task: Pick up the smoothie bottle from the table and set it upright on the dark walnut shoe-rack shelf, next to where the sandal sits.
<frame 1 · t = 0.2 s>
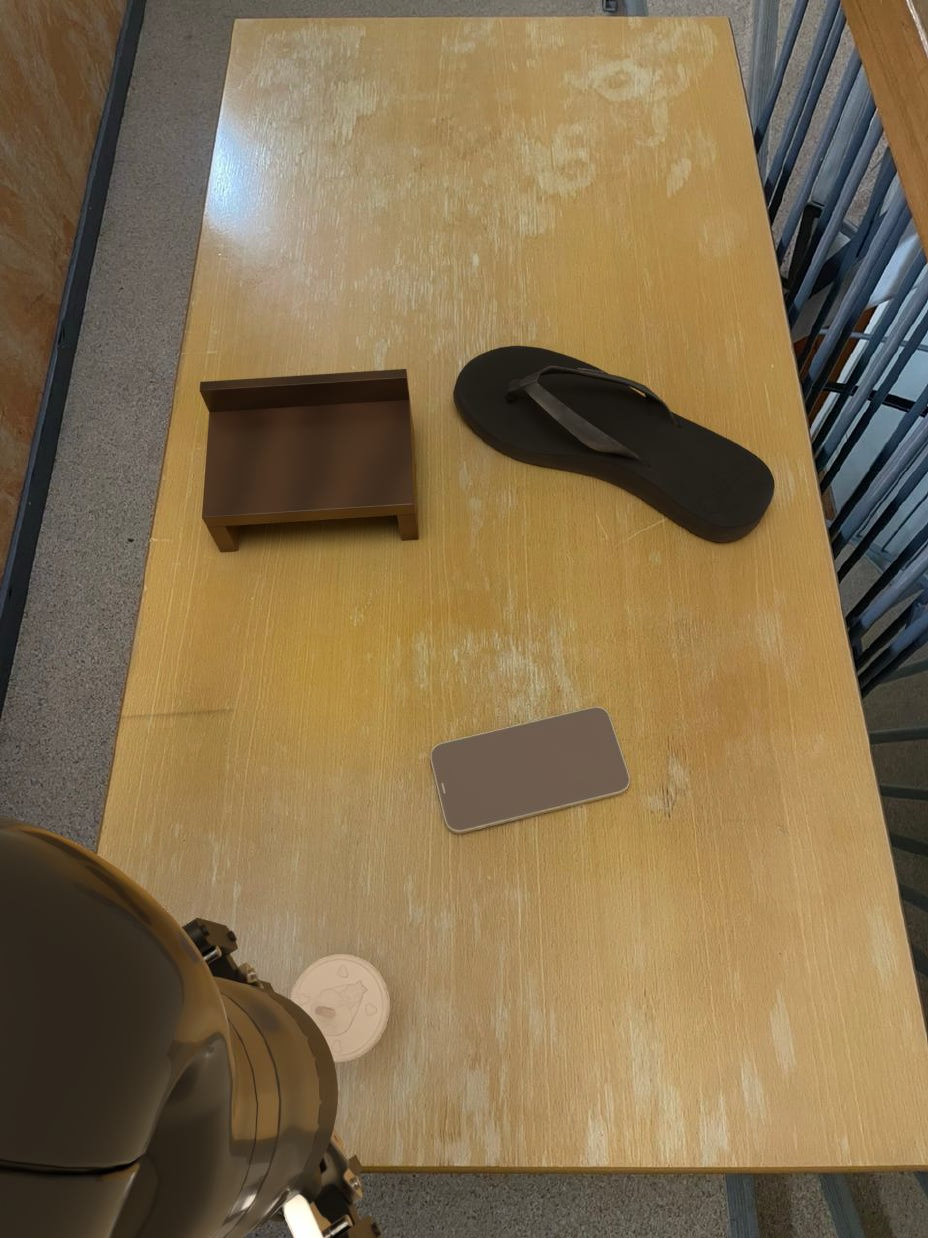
hand: (296, 1086, 43), 24 cm above the table, tool pointing down, fingers open, 8 cm apart
smoothie: (357, 1011, 67), on the table
shelf: (319, 489, 86), on the table
sandal: (605, 454, 87), on the table
smartphone: (528, 771, 74), on the table
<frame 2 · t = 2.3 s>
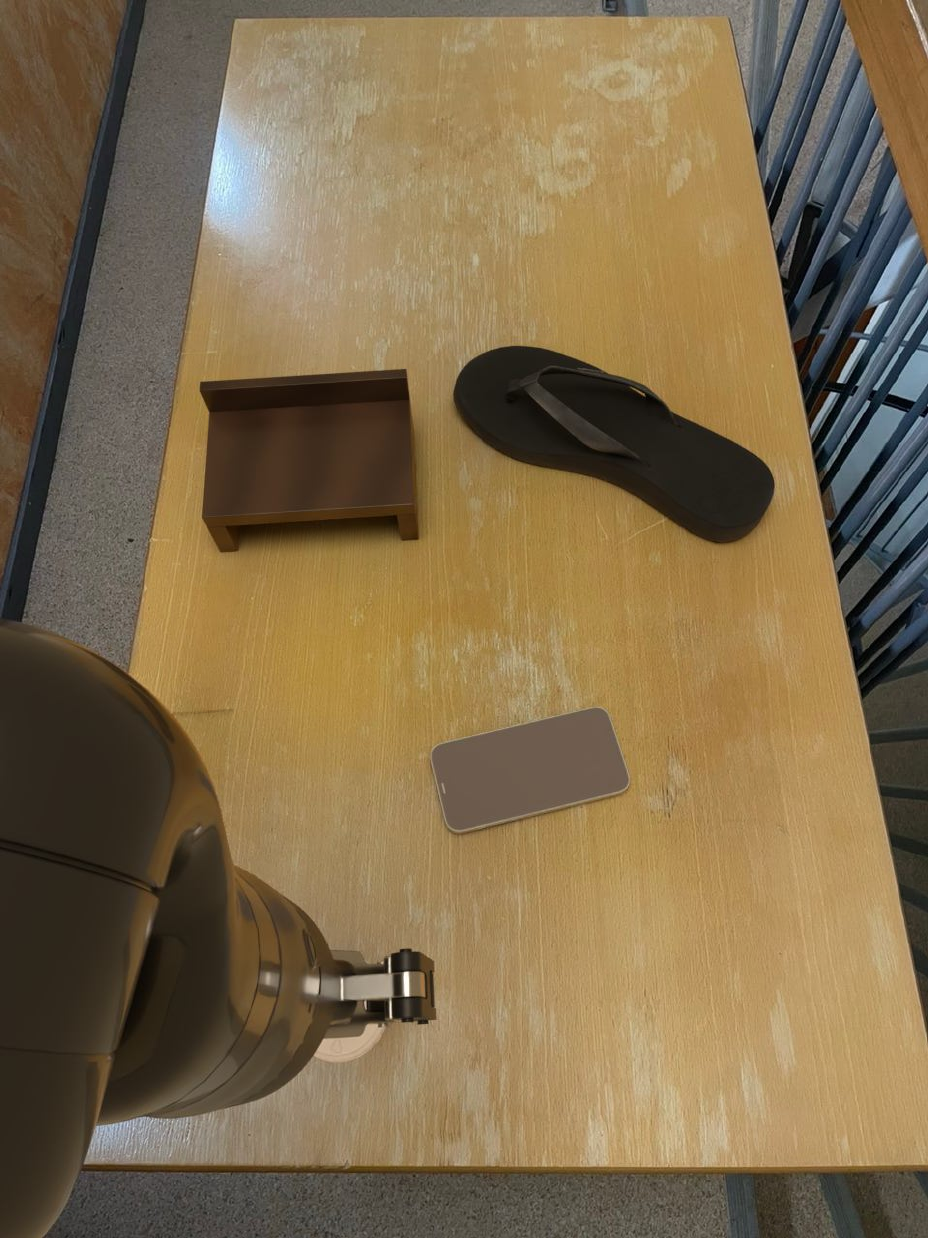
hand: (296, 1005, 45), 24 cm above the table, tool pointing down, fingers open, 8 cm apart
nothing on the table moved.
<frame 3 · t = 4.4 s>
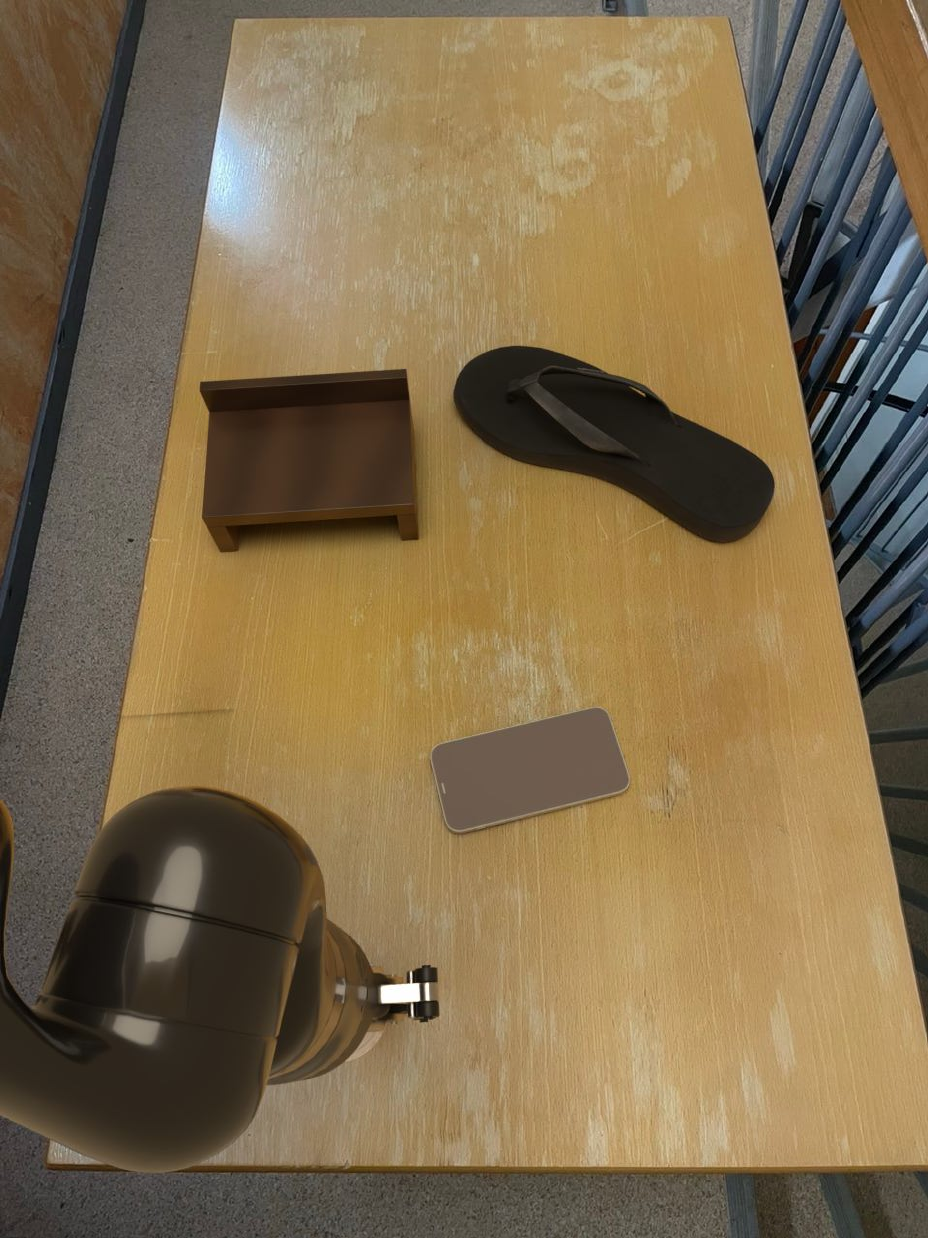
hand: (338, 1006, 58), 10 cm above the table, tool pointing down, fingers closed on smoothie, 6 cm apart
smoothie: (357, 1011, 67), on the table, touching gripper
everything else where it was.
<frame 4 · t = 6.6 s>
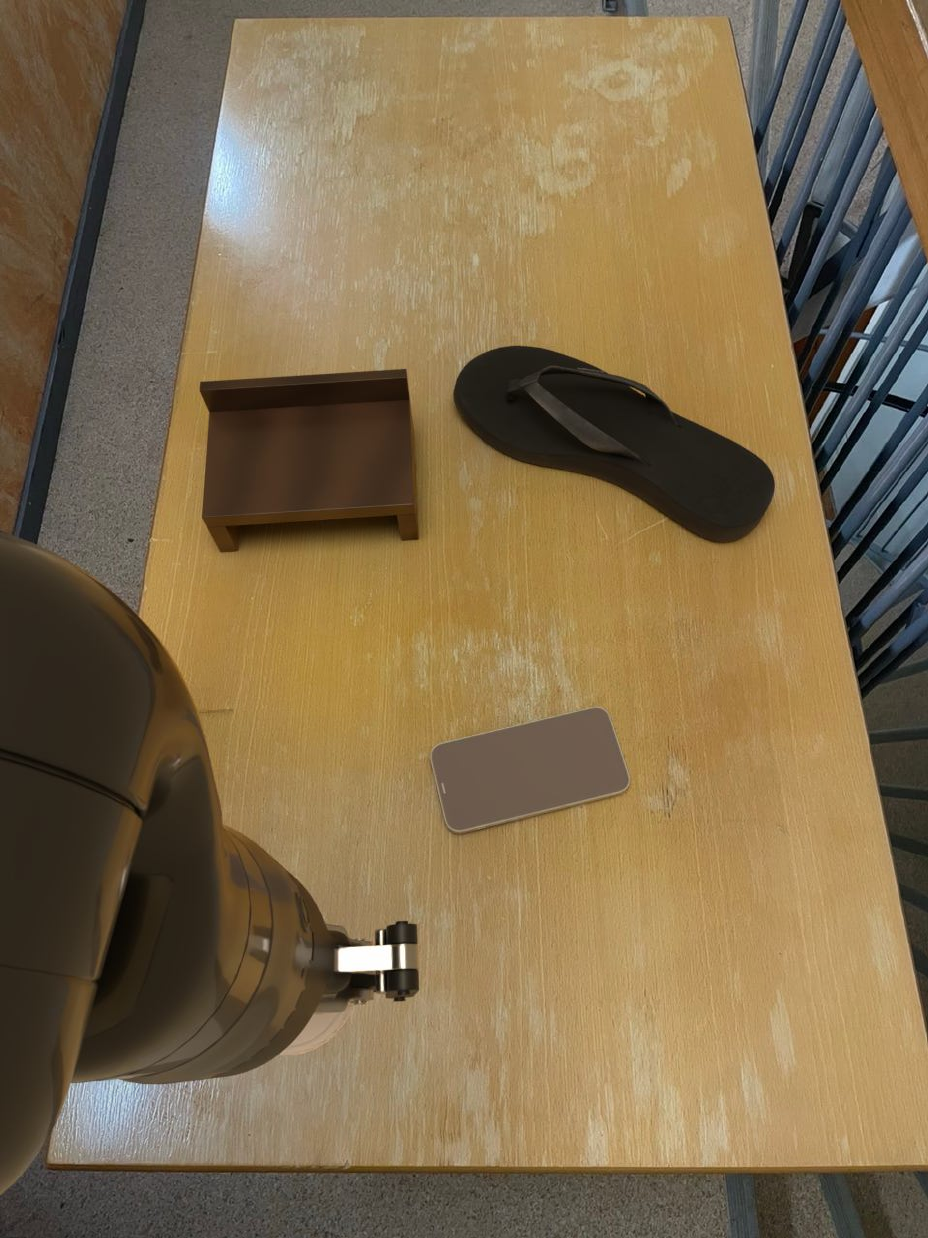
hand: (289, 982, 44), 25 cm above the table, tool pointing down, fingers closed on smoothie, 6 cm apart
smoothie: (321, 993, 53), point 15 cm above the table, touching gripper
everything else where it was.
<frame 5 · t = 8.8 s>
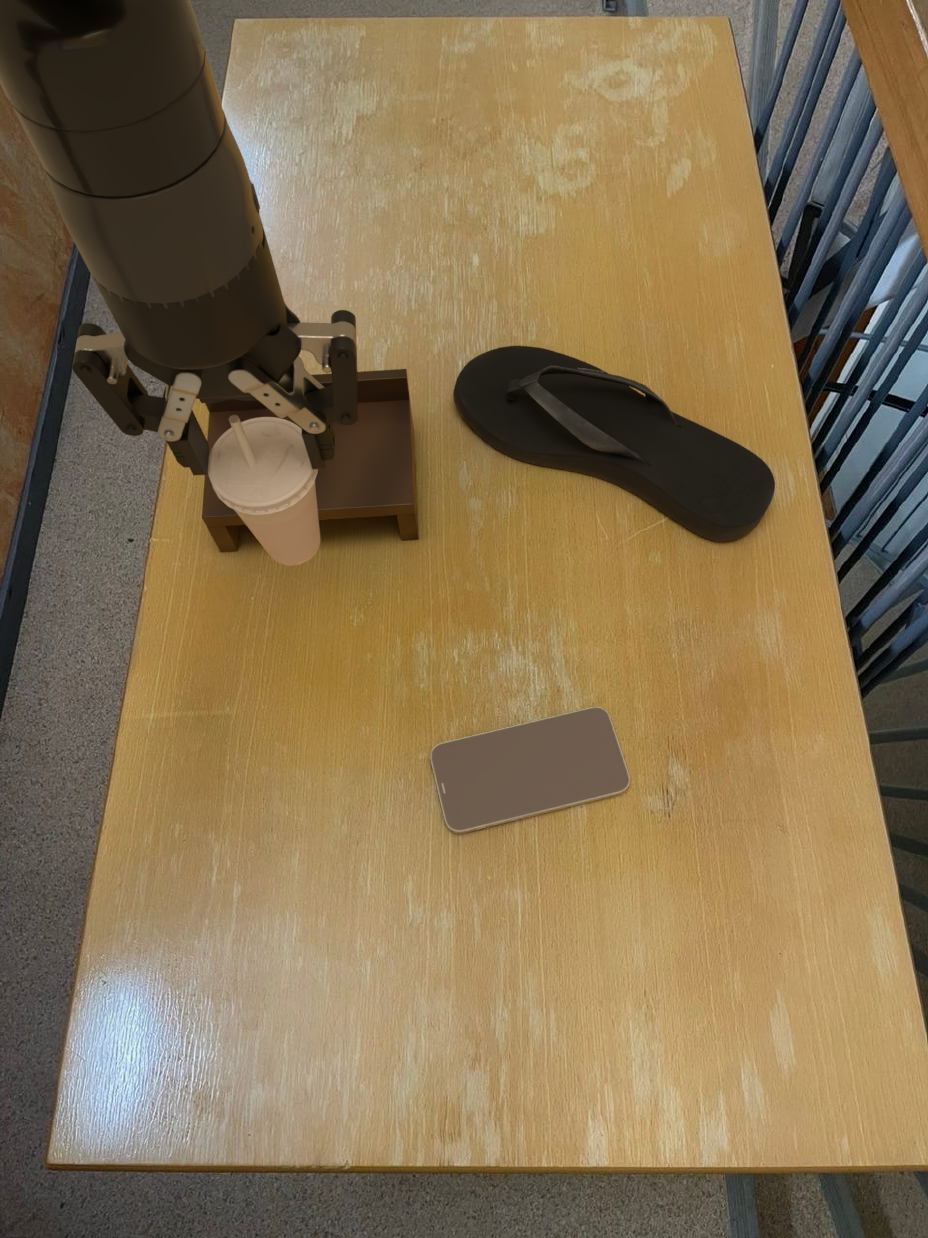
hand: (261, 459, 54), 28 cm above the table, tool pointing down, fingers closed on smoothie, 6 cm apart
smoothie: (294, 543, 63), point 18 cm above the table, touching gripper
everything else where it was.
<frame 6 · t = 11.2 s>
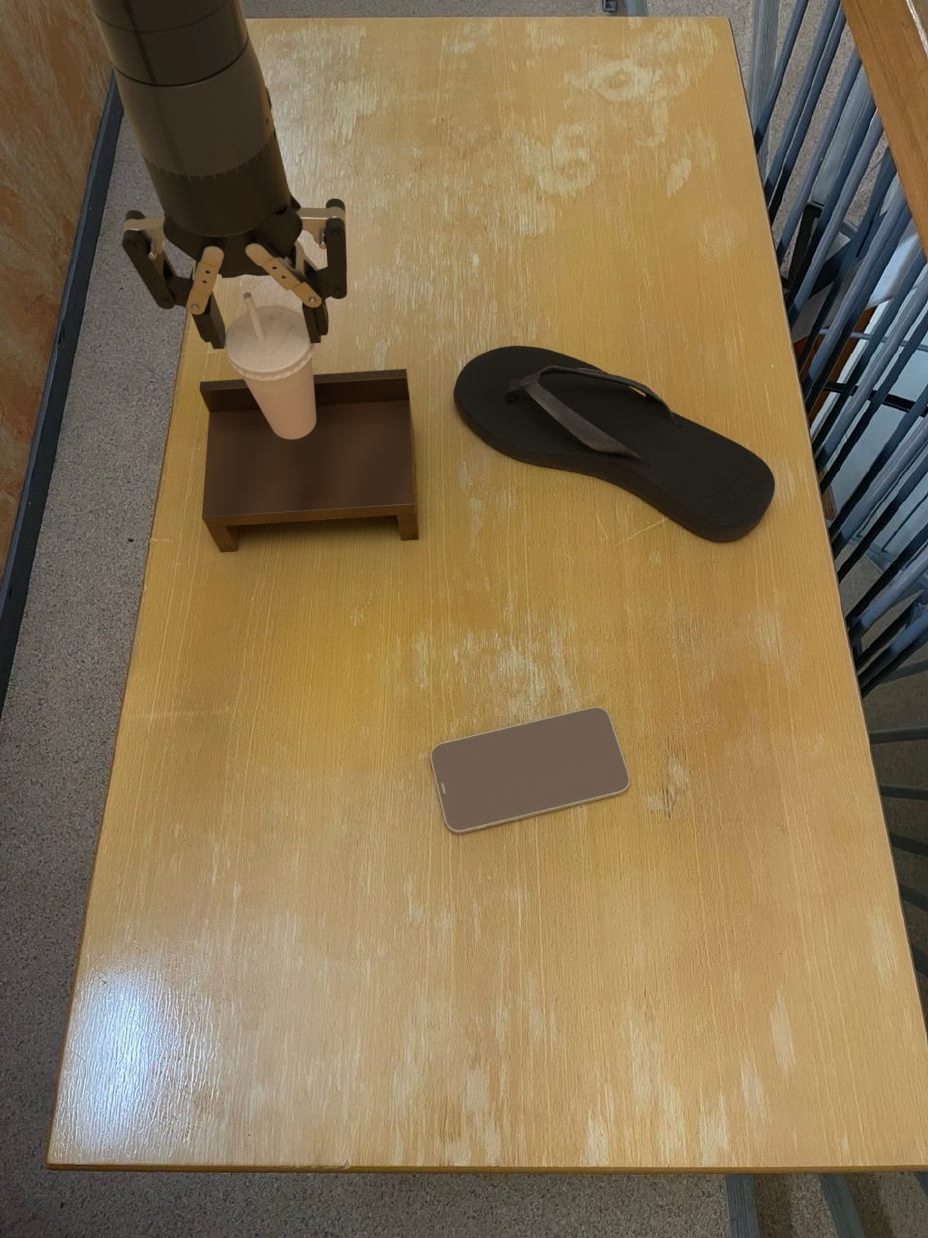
hand: (268, 336, 65), 22 cm above the table, tool pointing down, fingers closed on smoothie, 6 cm apart
smoothie: (294, 421, 74), point 12 cm above the table, touching gripper
everything else where it was.
when the fingers open (16 cm above the table, at t = 13.2 s): smoothie stays where it is, resting on shelf.
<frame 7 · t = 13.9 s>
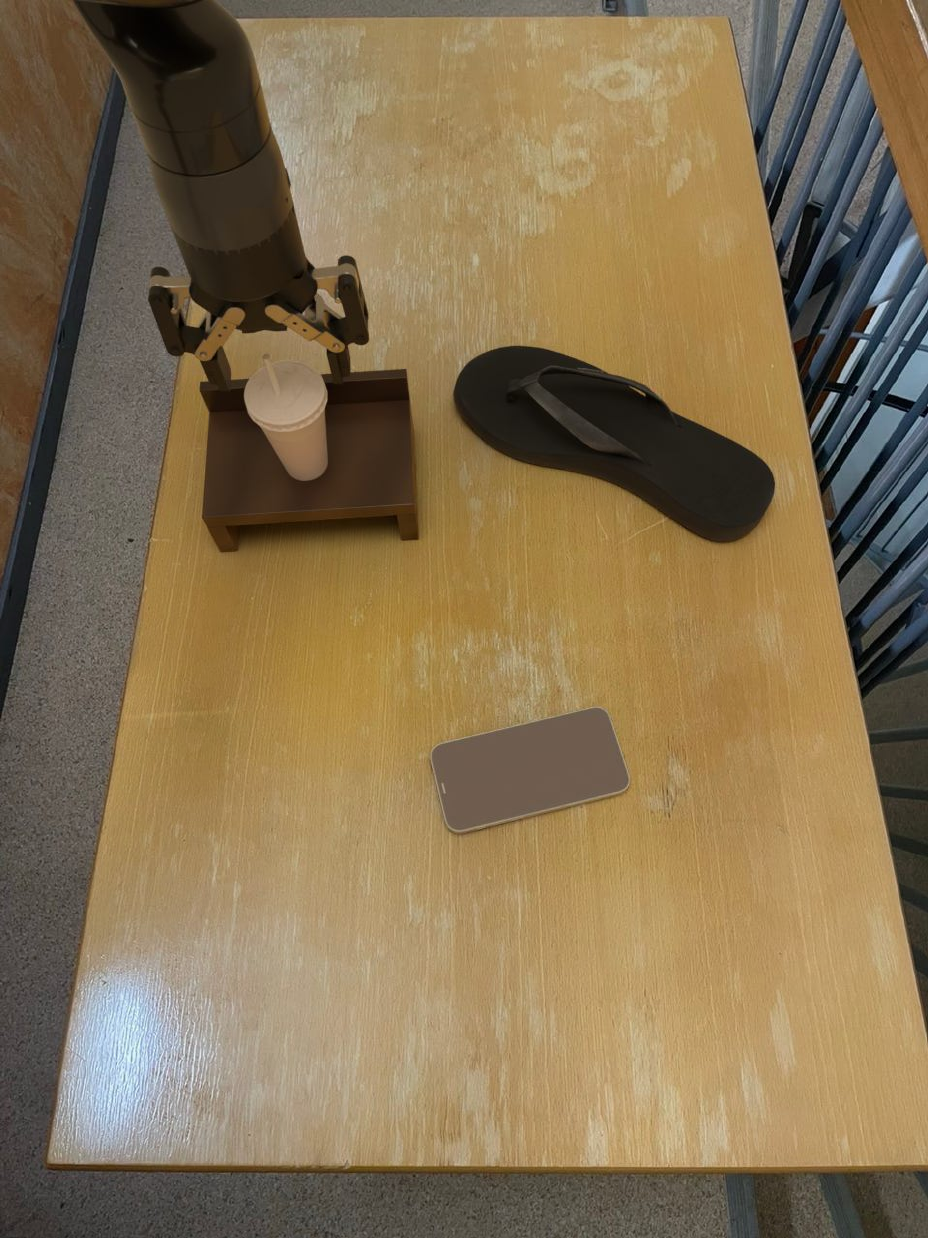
hand: (282, 378, 70), 17 cm above the table, tool pointing down, fingers open, 8 cm apart
smoothie: (307, 464, 80), point 6 cm above the table, touching shelf
everything else where it was.
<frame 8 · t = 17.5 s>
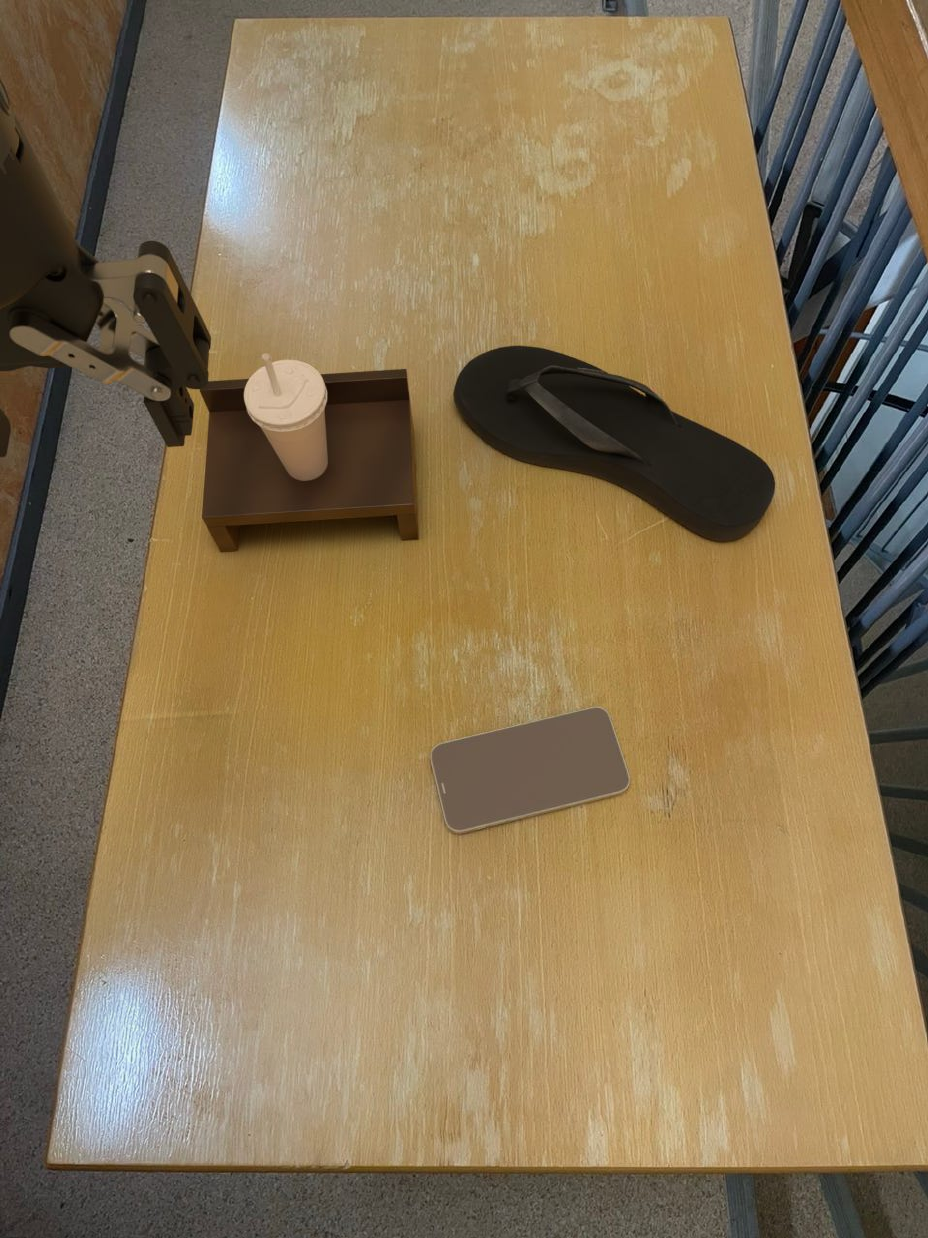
hand: (90, 437, 44), 36 cm above the table, tool pointing down, fingers open, 8 cm apart
nothing on the table moved.
at the end: smoothie inside the target area on the shelf (0.6 cm from its centre), point 5.8 cm above the shelf's base; smoothie tilted 0°; the gripper is holding nothing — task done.
